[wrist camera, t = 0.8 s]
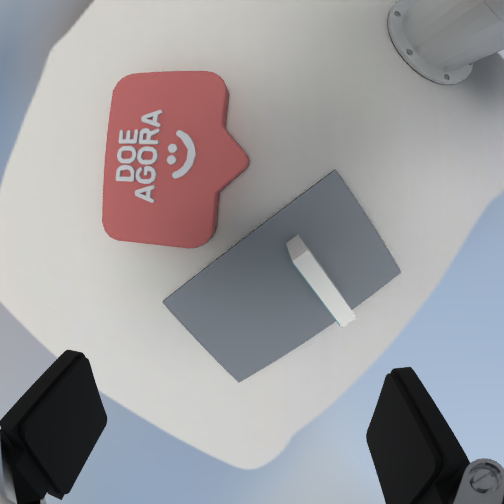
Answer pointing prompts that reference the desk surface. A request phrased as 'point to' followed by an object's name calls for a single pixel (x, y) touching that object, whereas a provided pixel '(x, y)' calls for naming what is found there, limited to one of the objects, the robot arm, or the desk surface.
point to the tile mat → (283, 280)
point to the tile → (319, 281)
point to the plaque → (168, 158)
